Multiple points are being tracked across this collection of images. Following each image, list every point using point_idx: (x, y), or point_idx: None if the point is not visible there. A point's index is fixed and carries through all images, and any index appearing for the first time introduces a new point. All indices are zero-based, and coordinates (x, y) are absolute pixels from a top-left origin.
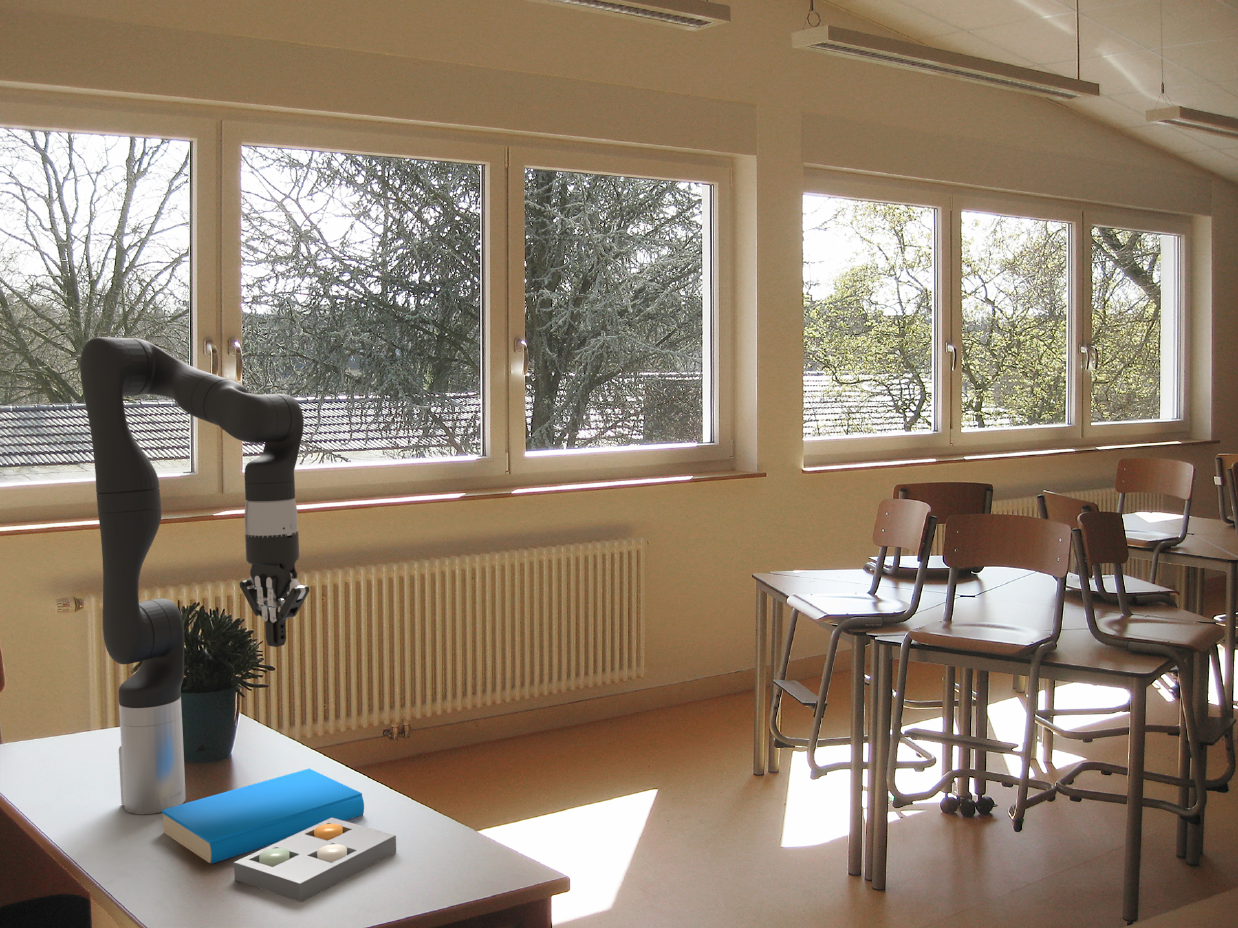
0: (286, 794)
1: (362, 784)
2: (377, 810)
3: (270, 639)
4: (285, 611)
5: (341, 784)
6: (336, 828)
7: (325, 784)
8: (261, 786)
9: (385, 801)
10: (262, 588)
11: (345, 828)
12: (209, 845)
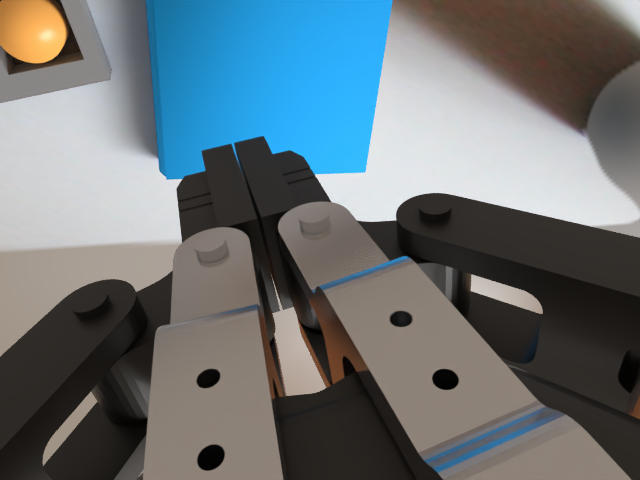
0: (277, 69)
1: None
2: (164, 188)
3: (236, 158)
4: (6, 365)
5: None
6: (18, 45)
7: None
8: (359, 56)
9: None
10: (415, 449)
11: (31, 69)
12: None
